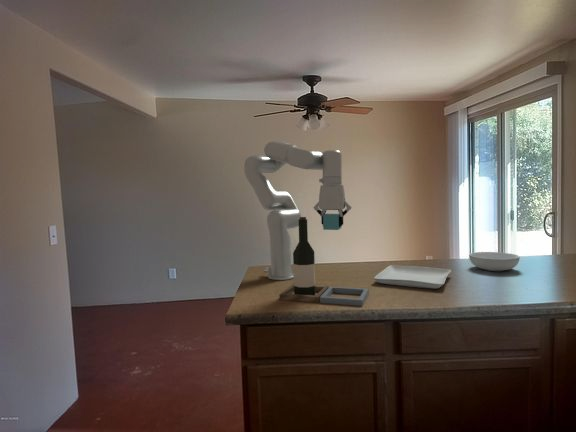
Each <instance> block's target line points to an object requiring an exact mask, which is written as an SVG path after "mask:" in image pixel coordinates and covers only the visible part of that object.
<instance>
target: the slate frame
mask: <svg viewBox="0 0 576 432" xmlns="http://www.w3.org/2000/svg"><path fill="white" fill-rule="evenodd" d="M369 292H370V291H369V288H361V287H347V286H345V287H343V286H342V287H341V286H332V285H331V286H329V288H328V289H327V290H326V291H325V292H324V293H323V295H322V296H321V297H320V302H319V303H320V304H330V305H331V304H332V305H333V304H334V305H343V306H345V305H346V306H355V307H356V306H359V307H363V306H364V304H365V302H366V301H367V298H368V296H369V294H370V293H369ZM333 294H348V295H360V296H359V298H354V297H353V298H352V297H341V296H339V297H336V296H332V295H333Z"/></svg>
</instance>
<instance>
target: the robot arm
mask: <svg viewBox="0 0 576 432" xmlns="http://www.w3.org/2000/svg"><path fill="white" fill-rule="evenodd" d="M263 153H264V154H253V155H250V156H248V157H247V158H246V159H245V160H244V164H243V170H244V175H245V177H246V179H247V181H248V183H249V184H250V186H251V188H252V189H253V192H254V193H255V195H256V197H257V199H258V201H259V202H260V203H259V204H260V205H261V206H262V208H263V209H264V210H266V211H270V212H269V213H268V214H267V217H266V224H267V228H268V232H269V246H270V247H269V252H270V253H269V254H270V267H263V269H262V270H263V272H264V273H268V275H267V278H268V279H269V280H273V281H286V280H292V279H294V272H292V250H291V246H292V245H291V244H292V243H291V236H290V234H289V232H288V229H295V228H297V227H298V228H299V221H298V220H299V219H300V217H302V215H301V212H300V210H299V208H298V206H297V204H296V203H295V201H294V199H293V197H292V196H291V194H290V193H289V192H288V191H286V190H284V189H275V188H274V187H273V186H272V183H271V181H270V180H269V179H268V178H267V177H266V176H265V175H264V174H273V173H276V172H277V171H279V170H280V169H281V168H282V167H284V166H285V165H286V164H287V165H289V166H291V167H295V168H297V169H298V168H299V169H302V170H312V171H313V170H317V171H321V170H322V177H321V178H319V180H318V181H319V183H322V184H320V188H319V195H318V202H317V203H316V204H315V205H314V206H313V209H314V211H316V212H317V213H318V215H320V218H321V221H320V223H321V225H323V215H324V214H327V211H337V212H338V214H339V215H340V217H339V227H341V228H342V226H344V216H345V215H346V214H348V212H349V211H350V210H351V209H352V206H351V205H350V204H349V203H348V202H347V200H346V195H345V188H344V184H342V183H343V182H342V174H343V173H342V168H343V167H342V152H341V151H340V150H336V149H330V150H329V149H328V150H324V151H317V150H307V149H301V148H298V146H297V145H295V144H292V143H290V142H286V141H277V140H273V141H268V143H266V144H265V146H264V147H263ZM344 209H345V210H344Z"/></svg>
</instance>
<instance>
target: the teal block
mask: <svg viewBox="0 0 576 432" xmlns="http://www.w3.org/2000/svg"><path fill="white" fill-rule="evenodd" d="M339 217H340V215H339V213H327V212H326V213H325V214H324V215H323V224H322V229H323V230H325V231H327V230H329V231H339V230H341V229H342V226H341V227H339Z"/></svg>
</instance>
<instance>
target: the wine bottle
mask: <svg viewBox="0 0 576 432" xmlns="http://www.w3.org/2000/svg"><path fill="white" fill-rule="evenodd" d="M298 221H299V226H298V242H297V245H296V246H295V249H294V251H293V253H292V259H293V260H292V261H293V266H292V267H293V273H294V278H293V284H294V292H293V294H299V295H313V296H316V292H315V286H316V270H315V269H316V267H315V266H316V265H315V260H316V259H315V250H314V249H313V247H312V245H311V244H310V242H309V240H308V239H309V237H308V236H309V235H308V233H309V232H308V219H307V216H301V217H300V219H299V220H298Z"/></svg>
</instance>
